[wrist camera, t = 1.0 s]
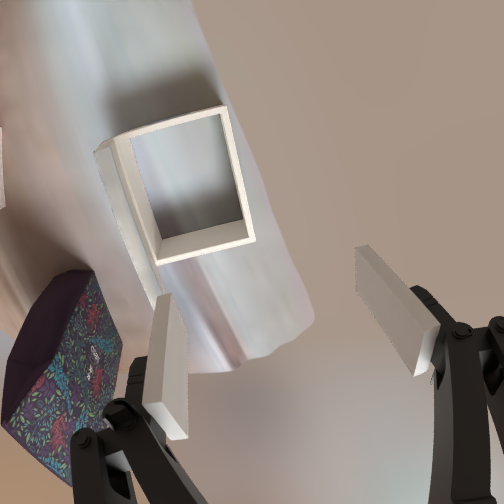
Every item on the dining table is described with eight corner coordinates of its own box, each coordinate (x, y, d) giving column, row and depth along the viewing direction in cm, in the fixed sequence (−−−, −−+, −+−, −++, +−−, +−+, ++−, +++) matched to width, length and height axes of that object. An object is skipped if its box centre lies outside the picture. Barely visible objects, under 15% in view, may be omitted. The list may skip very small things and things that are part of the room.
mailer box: (249, 222, 44) (255, 241, 39) (158, 245, 44) (153, 266, 39) (222, 103, 36) (226, 104, 31) (122, 131, 36) (109, 137, 31)
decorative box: (86, 348, 51) (51, 485, 26) (51, 272, 43) (-27, 415, 18) (125, 345, 52) (103, 493, 27) (94, 265, 44) (27, 424, 19)
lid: (177, 329, 27) (163, 335, 27) (157, 267, 38) (147, 271, 38) (109, 146, 19) (91, 153, 19) (113, 137, 30) (101, 142, 30)
